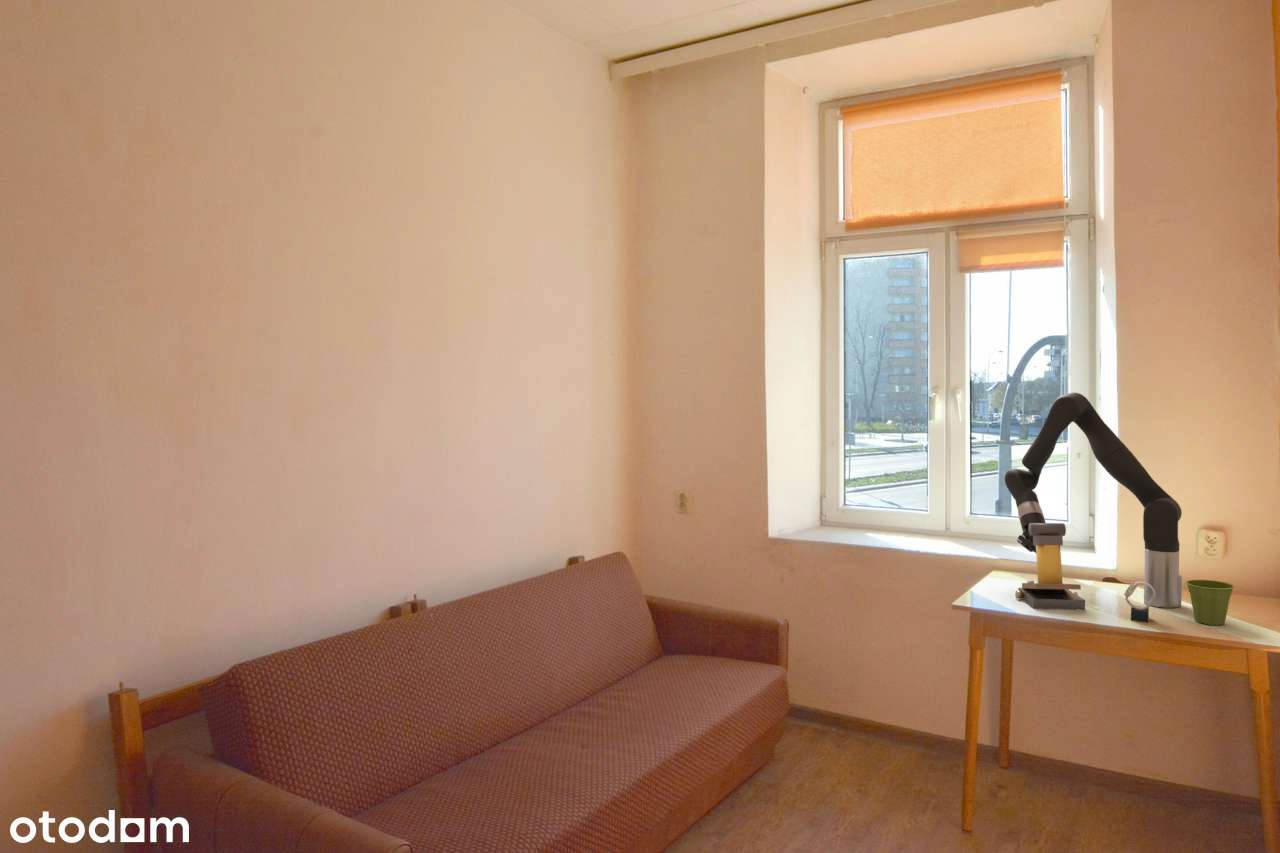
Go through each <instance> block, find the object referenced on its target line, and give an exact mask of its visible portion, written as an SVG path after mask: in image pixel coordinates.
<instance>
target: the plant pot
mask: <svg viewBox="0 0 1280 853" xmlns="http://www.w3.org/2000/svg"><path fill="white" fill-rule="evenodd" d="M1185 584H1186V585H1187V587H1188V588H1187V589H1188V592H1189V595H1190V601H1191V605H1192V606H1191V607H1192V611H1193V617H1194V621H1195V622H1196V623H1199V624H1200V623H1202V624H1204V625H1206V624H1207V625H1206V626H1221V625H1225V624H1226V620H1227V615H1228V610H1229V609H1228V608H1229V603H1230V600H1231V596H1232V595H1233V594H1232V592H1233V590H1234V589H1235V587H1236V586H1235V584H1233V583H1229V582H1225V581H1219V580H1213V579H1212V580H1211V579H1189V580H1186V581H1185Z"/></svg>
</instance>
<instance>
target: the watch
mask: <svg viewBox="0 0 1280 853" xmlns="http://www.w3.org/2000/svg"><path fill="white" fill-rule="evenodd" d="M1140 584H1141V585H1143V586H1144V585H1147V586H1148V587H1150V588H1151V589H1152V591H1153V592H1154V593H1153V596H1152V598H1151V600H1150V602H1149V603H1148V604H1146V605H1145V606H1140V605H1137V606H1136V605H1134V604H1133V603H1132V602H1131V601H1130V600H1129V598H1130V597H1131V596H1132V595H1133V593H1134V592H1135V590H1136V589H1137V587H1138V585H1140ZM1123 596H1124V597H1125V601H1126V603H1127V604H1128V606H1129V607H1130V608H1131V609H1130V621H1131V622H1132V621H1134V622H1142V623H1149V619H1150V618H1149V616H1150V614H1149V613H1150V610H1149V609H1150V607H1152V606H1151V605H1152V604H1153V602H1154V600H1155V597H1156V596H1155V590H1154V588H1153V587H1152V586H1151V585H1150V584H1148V583H1146V582H1144V580H1136V581H1132V582H1131V583H1130V584H1129V586H1128V587H1127V588H1126V590H1125V592H1124V594H1123Z"/></svg>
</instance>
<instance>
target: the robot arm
mask: <svg viewBox="0 0 1280 853" xmlns="http://www.w3.org/2000/svg"><path fill="white" fill-rule="evenodd" d="M1072 423H1074V424H1076V426H1077V427H1079V429H1080V430H1081V431H1082V432H1083V434H1085V436H1086V438H1087V441H1088V443H1089V445H1090V448H1091V451H1092V453H1093V455H1094V457H1095V459H1096V460H1097V461H1098V464H1100V465H1101V466H1102V468H1104V470H1105V471H1106V472H1107V473H1108V474H1109V475H1110V477H1112V478H1113V479H1115V481H1116V482H1118V483H1119V484H1121V485H1122V486H1124V487H1125V488H1126V489H1127V490H1128V491H1129V492H1131V493H1132V494H1133V495H1134V497H1135V498H1137V500H1138V501H1139V503H1140V504H1141V505H1142V506H1143V508H1144V509H1143V514H1142V515H1143V516H1142V517H1143V518H1142V519H1143V520H1142V523H1143V525H1142V526H1143V528H1142V530H1143V532H1142V533H1143V540H1144V565H1143V566H1144V568H1143V569H1144V570H1143V571H1144V573H1143V574H1144V576H1143V582H1146V583H1148V584H1150V585H1151V586H1152V587H1153V588H1154V590H1155V596H1156V597H1155V600H1154V602H1153V604H1152V605H1151V606H1150V607H1157V608H1165V609H1166V608H1179V607H1182V597H1183V596H1182V595H1183V594H1182V590H1183V588H1182V587H1183V586H1182V585H1183V577H1182V575H1180V541H1179V521H1180V519H1181V518H1182V508H1181V506H1180V504H1179V503H1178V501H1177V500H1175V498H1173V497H1172V496H1171V495H1169V493H1167V492H1166V491H1165V490H1164V489H1163V488H1162V486H1160V485H1159V484H1158V483H1157V482H1156V480H1154V479H1153V478H1152V476H1151V475H1150V474H1149V472H1148V471H1147V470H1146V468H1145V467H1144V466H1143V465H1142V464H1141V462H1140V461H1139V460H1138V458H1137V457H1136V456H1135V455H1134V454H1133V452H1132V451H1131V450H1130V449H1129V448H1128V447H1127V446H1126V445H1125V443H1123V441H1122V440H1121V439H1120V438H1119V437H1118V436H1117V434H1115V432H1113V430H1112V429H1111V428H1110V427H1109V426H1108V425H1107V424H1106V423H1105V421H1104V420H1103V419H1102V418H1101V415H1099V413H1098V412H1097V411H1096V409H1095V408H1094V406H1093V405H1092V404H1091V401H1089V399H1088V398H1087V397H1086V396H1085V395H1083V394H1081V393H1080V392H1069V393H1066V394H1063V395H1060V396H1059V397H1057V398H1056V399H1055V400H1054V401H1053V402H1052V405H1051V406H1050V409H1049V411H1048V414H1047V416H1046V419H1045V421H1044V423H1043V425H1042V427H1041V429H1040V431H1039V433H1038V434H1037V436H1036V437H1035V439H1034V440H1033V442H1032V443H1031V445H1030V447H1029V448H1028V449H1027V451H1026V452H1025V454H1024V455H1023V457H1022V459H1021V464H1022V465H1023V466H1024V467H1025V468H1026V469H1027V470H1024V469H1020V468H1017V467H1016V468H1015V467H1014V468H1009V469H1008V470H1007V471H1006V472H1005V475H1004V483H1005V486H1006V488H1007V489H1008V491H1009V494H1010V495H1011V496H1012V498H1013V499H1014V500H1015V504H1016V509H1017V515H1018V519H1019V523H1020V526H1021V530H1022V534H1021V535H1018V537H1017V539H1016V541H1017V543H1018V544H1020V545H1021V546H1022V547H1024V548H1025V549H1026V550H1027V551H1028V552H1030V553H1035V554H1036V546H1034V545H1033V536H1030V534H1029V524H1030V523H1047V522H1046V519H1045V517H1044V512H1043V510H1042V507H1041V505H1040V502H1039V498H1038V495H1037V493H1036V491H1034V490H1035V489H1036V488H1037V486H1038V484H1039V480H1040V476H1041V474H1042V471H1043V468H1044V466H1045V465H1046V464H1047V462H1048V461H1049V459H1050V458H1051V456H1052V454H1053V453H1054V451H1055V448H1056V445H1057V442H1058V440H1059V438H1060V436H1061V435H1062V433H1063V432H1064V431H1065V430H1066V429H1067V428H1068V426H1069V425H1070V424H1072ZM1153 593H1154V592H1153V591H1152V589H1151V588H1150V587H1148V586H1147V585H1144V584H1143V603H1144V604H1145V605H1147V604H1148V603H1149V602H1150V600H1151V598H1152V596H1153Z"/></svg>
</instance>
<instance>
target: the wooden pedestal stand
mask: <svg viewBox="0 0 1280 853" xmlns="http://www.w3.org/2000/svg"><path fill="white" fill-rule="evenodd" d="M1029 534H1030V536H1033V545H1034V546H1036V553H1035V555H1036V570H1037V571H1036V572H1037V583H1036V582H1035V581H1034V580H1026V582H1021V588H1033V589H1069V590H1078V591H1079V590H1082V586H1081V584H1077V583H1075V584H1074V583H1063V571H1062V556H1061V555H1062V552H1061V551H1062V550H1061V546H1063V545H1064V543H1063V542H1064V541H1063V537H1065V536H1066V534H1067V528H1066V525H1065V523H1062V522H1061V523H1059V522H1058V523H1054V522H1053V523H1051V522H1050V523H1047V522H1046V523H1030V524H1029Z"/></svg>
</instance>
